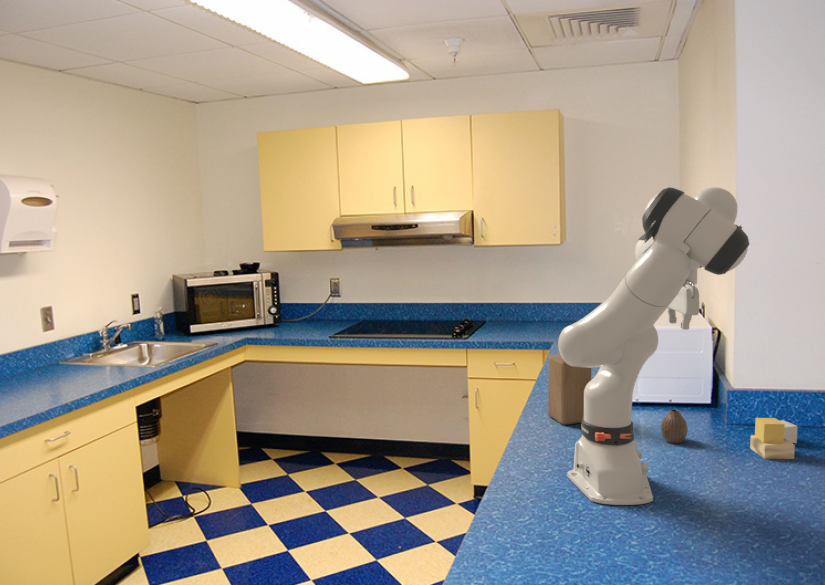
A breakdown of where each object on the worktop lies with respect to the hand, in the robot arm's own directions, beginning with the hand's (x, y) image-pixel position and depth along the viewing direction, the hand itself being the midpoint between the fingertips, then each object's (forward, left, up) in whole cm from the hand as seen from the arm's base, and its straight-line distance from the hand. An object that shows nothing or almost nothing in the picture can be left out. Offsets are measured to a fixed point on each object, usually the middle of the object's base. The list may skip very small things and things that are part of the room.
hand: (678, 326), depth 182 cm
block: (+12, +28, -31) cm, 44 cm away
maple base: (-18, -19, -32) cm, 41 cm away
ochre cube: (-17, -18, -27) cm, 37 cm away
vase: (-8, +3, -31) cm, 32 cm away
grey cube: (-9, -26, -31) cm, 41 cm away
